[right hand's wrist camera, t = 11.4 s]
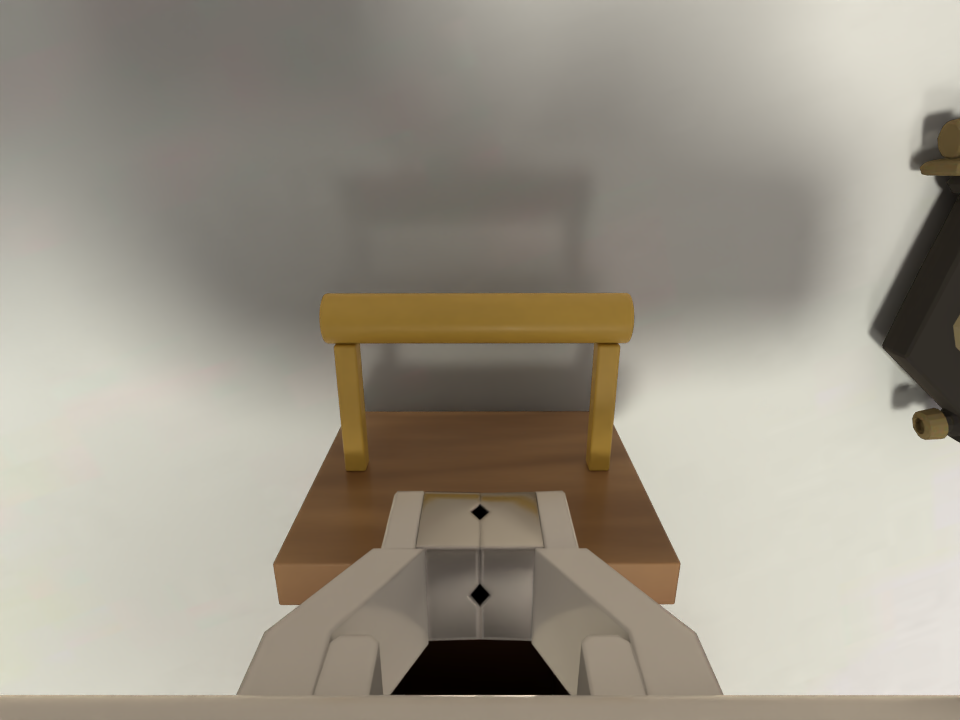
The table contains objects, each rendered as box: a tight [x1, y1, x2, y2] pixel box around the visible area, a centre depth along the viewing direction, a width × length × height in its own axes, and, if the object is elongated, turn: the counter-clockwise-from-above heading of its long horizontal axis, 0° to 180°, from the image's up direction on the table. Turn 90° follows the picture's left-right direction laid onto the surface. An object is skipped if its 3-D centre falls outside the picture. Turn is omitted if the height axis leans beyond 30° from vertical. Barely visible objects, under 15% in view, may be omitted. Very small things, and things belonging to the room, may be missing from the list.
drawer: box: [273, 293, 680, 695], centre depth 19 cm, size 26×9×8 cm, turn 0°
